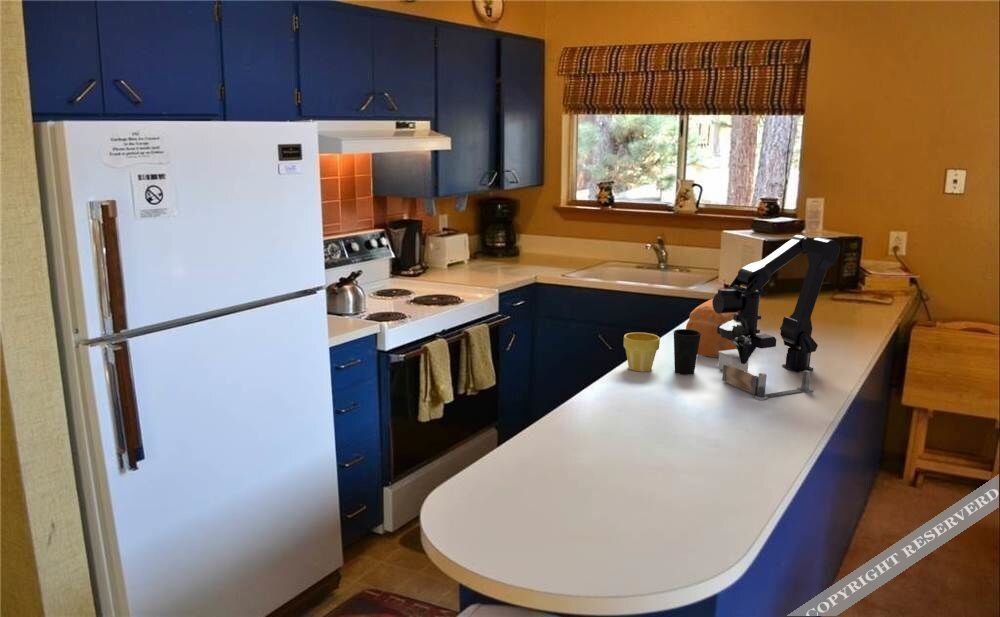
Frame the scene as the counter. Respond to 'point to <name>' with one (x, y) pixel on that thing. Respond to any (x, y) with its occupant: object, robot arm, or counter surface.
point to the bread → (710, 329)
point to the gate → (740, 378)
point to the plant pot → (641, 350)
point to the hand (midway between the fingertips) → (743, 363)
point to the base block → (731, 359)
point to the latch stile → (805, 382)
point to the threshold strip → (783, 393)
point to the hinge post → (761, 387)
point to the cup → (685, 350)
